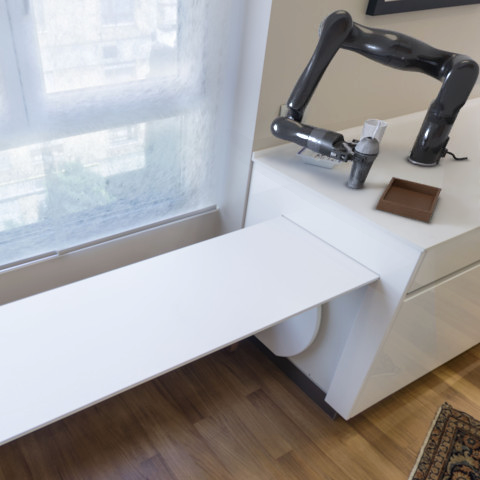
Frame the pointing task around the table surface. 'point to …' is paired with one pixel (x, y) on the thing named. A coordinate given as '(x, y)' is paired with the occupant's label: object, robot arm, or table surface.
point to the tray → (409, 199)
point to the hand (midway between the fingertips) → (371, 157)
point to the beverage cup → (360, 171)
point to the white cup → (373, 129)
